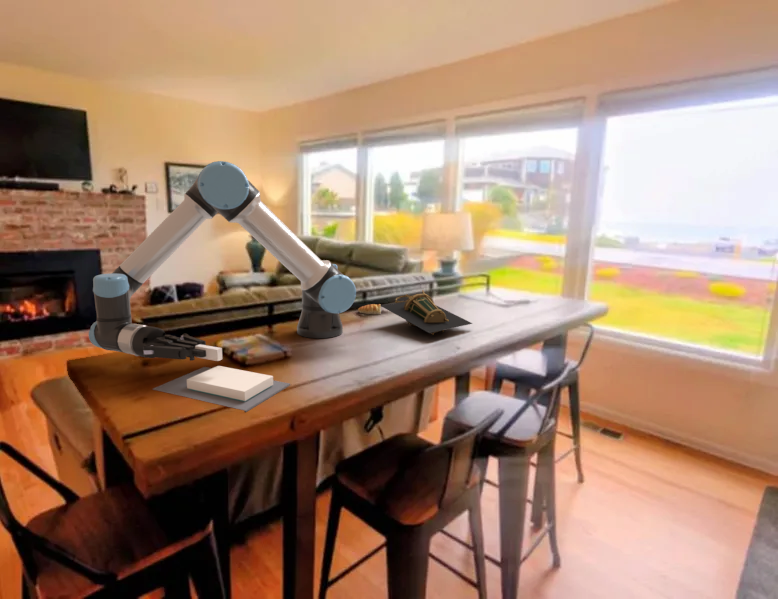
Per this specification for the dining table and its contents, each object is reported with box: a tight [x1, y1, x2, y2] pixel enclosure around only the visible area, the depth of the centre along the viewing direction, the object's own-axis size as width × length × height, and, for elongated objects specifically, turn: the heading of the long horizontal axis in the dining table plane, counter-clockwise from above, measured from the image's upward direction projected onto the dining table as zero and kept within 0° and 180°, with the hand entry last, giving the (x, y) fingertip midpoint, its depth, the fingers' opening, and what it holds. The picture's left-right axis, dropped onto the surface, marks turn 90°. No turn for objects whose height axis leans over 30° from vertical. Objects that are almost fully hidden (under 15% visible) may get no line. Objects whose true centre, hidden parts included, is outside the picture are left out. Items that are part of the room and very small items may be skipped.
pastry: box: [357, 303, 382, 315], centre depth 183 cm, size 9×7×4 cm
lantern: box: [380, 289, 473, 336], centre depth 162 cm, size 14×23×30 cm
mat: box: [152, 366, 291, 413], centre depth 105 cm, size 26×16×1 cm, turn 68°
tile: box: [187, 365, 274, 402], centre depth 104 cm, size 2×10×16 cm
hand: (219, 354), depth 104 cm, fingers closed
